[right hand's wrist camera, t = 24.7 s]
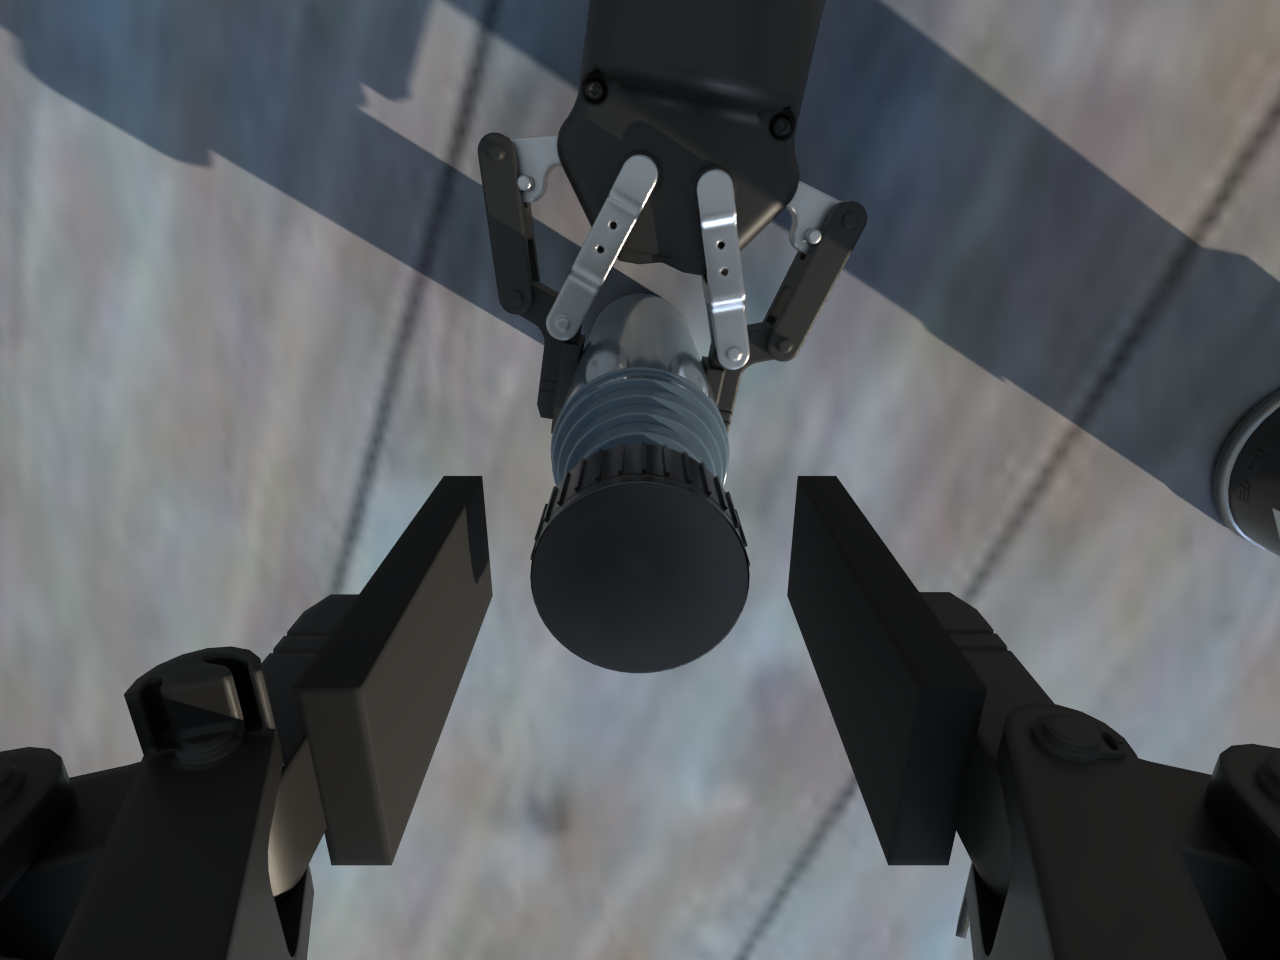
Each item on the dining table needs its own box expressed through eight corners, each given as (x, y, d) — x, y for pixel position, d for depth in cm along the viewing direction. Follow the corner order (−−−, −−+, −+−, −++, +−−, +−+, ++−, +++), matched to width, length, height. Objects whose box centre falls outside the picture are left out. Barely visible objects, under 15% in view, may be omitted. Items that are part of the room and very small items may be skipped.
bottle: (581, 383, 34) (497, 645, 14) (599, 283, 33) (532, 417, 12) (678, 402, 35) (731, 685, 14) (700, 304, 33) (798, 470, 13)
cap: (615, 647, 16) (612, 710, 14) (502, 508, 14) (480, 555, 12) (774, 556, 15) (794, 609, 13) (667, 400, 14) (672, 433, 12)
